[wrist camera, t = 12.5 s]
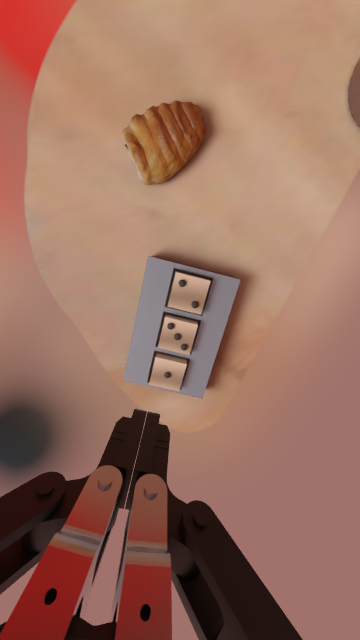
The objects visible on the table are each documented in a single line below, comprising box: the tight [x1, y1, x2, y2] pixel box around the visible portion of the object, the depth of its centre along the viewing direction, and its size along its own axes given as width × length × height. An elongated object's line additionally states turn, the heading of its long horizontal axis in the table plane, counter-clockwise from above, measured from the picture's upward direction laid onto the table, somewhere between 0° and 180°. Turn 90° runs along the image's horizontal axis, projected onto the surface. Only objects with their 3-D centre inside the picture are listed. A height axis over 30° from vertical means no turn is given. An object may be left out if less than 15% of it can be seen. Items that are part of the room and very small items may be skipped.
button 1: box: [149, 351, 187, 391], centre depth 31 cm, size 4×4×3 cm
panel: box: [123, 256, 240, 399], centre depth 31 cm, size 18×12×2 cm, turn 166°
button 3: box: [158, 312, 198, 355], centre depth 30 cm, size 4×4×3 cm
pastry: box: [121, 101, 205, 185], centre depth 24 cm, size 9×7×4 cm
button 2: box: [168, 271, 210, 315], centre depth 28 cm, size 4×4×3 cm
